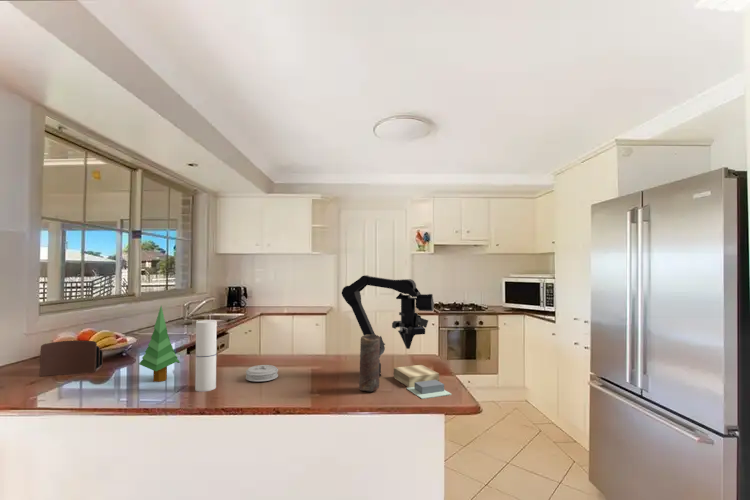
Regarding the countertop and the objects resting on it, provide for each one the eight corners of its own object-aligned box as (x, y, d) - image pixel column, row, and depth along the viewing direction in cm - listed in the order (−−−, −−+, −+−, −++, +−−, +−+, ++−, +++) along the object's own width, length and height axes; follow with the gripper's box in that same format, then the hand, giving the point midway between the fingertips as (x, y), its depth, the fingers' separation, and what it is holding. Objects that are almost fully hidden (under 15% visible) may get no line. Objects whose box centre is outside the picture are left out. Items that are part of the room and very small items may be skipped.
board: (409, 387, 151) (409, 377, 152) (393, 377, 164) (393, 367, 164) (439, 383, 156) (439, 373, 156) (421, 374, 169) (421, 364, 169)
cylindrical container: (195, 392, 146) (196, 323, 146) (194, 387, 152) (195, 320, 153) (217, 389, 149) (217, 322, 149) (214, 384, 155) (215, 319, 156)
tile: (414, 382, 149) (414, 389, 149) (422, 387, 143) (422, 394, 143) (435, 379, 152) (435, 386, 152) (444, 384, 147) (444, 391, 147)
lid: (238, 381, 160) (238, 368, 160) (261, 373, 172) (261, 361, 172) (262, 385, 154) (262, 372, 155) (284, 377, 166) (284, 365, 166)
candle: (382, 388, 151) (382, 334, 151) (376, 394, 144) (376, 338, 144) (363, 386, 153) (363, 333, 154) (356, 392, 146) (356, 337, 147)
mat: (422, 399, 139) (422, 398, 139) (406, 388, 150) (406, 387, 150) (451, 394, 144) (451, 393, 144) (434, 384, 155) (434, 384, 155)
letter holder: (95, 372, 172) (96, 339, 172) (39, 377, 165) (39, 342, 165) (102, 366, 181) (103, 335, 181) (49, 370, 175) (50, 338, 175)
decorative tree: (132, 380, 160) (133, 305, 160) (173, 372, 171) (174, 302, 172) (144, 388, 150) (145, 308, 151) (187, 379, 162) (188, 304, 162)
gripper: (437, 312, 159) (437, 351, 158) (414, 306, 176) (414, 342, 175) (411, 313, 154) (411, 354, 154) (391, 308, 172) (391, 344, 171)
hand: (408, 348), depth 164 cm, fingers closed
